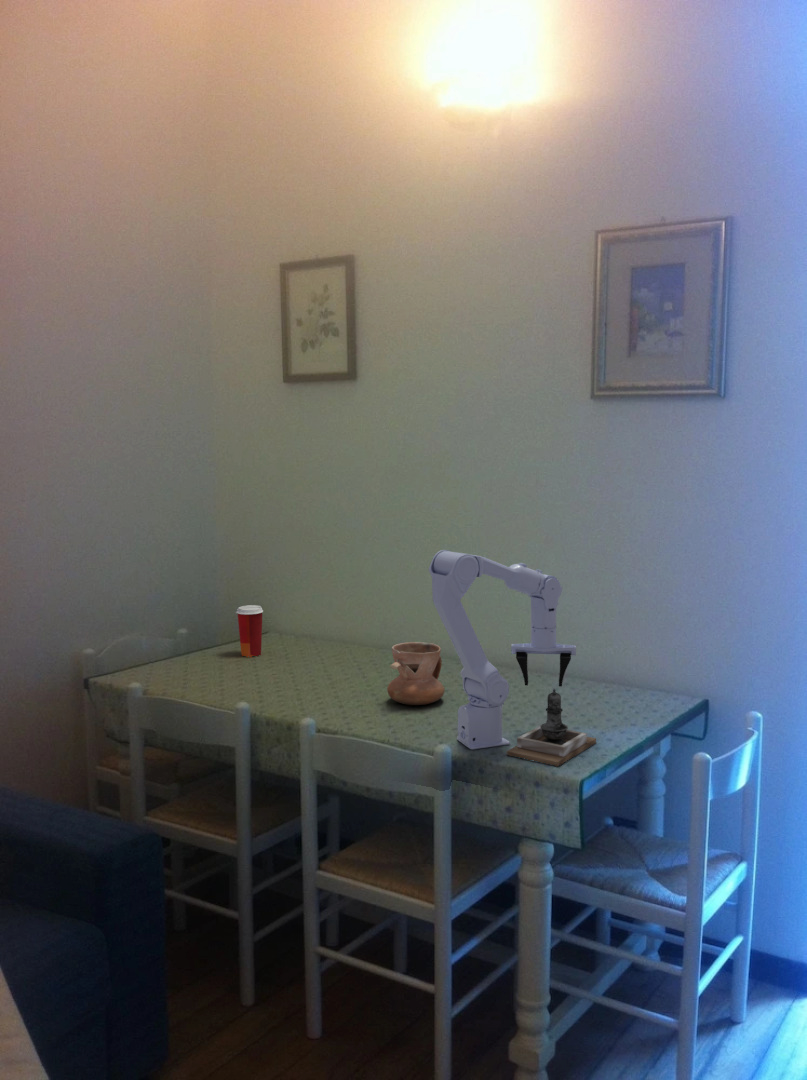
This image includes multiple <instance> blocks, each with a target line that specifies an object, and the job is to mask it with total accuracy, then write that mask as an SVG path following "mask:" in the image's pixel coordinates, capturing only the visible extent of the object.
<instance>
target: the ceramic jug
mask: <svg viewBox="0 0 807 1080" xmlns="http://www.w3.org/2000/svg"><path fill="white" fill-rule="evenodd" d="M441 648H442V647H440V646H439V645H438V644H435V643H431V642H423V641H409V642H402V643H397V644H394V645H393V646H392V647H391V652H392V658H393V661H394V662H393V663H392V664H390V666H389V667H390V668H391V669H392V670H397V671H398V673H399V675H398V676H396V677H395V678H394V679H393V680H391V681H389V683H388V686H387V690H386V691H387V693H388V696H389V698H391V700H393V701H395V702H397V703H399V704H403V705H408V706H423V705H424V706H426V705H429V704H433V703H435V702H437V701H439V700H440V699H441V698H443V696H444V693H445V687H444V685H443V683H442V682H441V681H439V680H438V679H439V677H440V674H441V670H442V661H443V660H442V657H441V651H442V650H441Z"/></svg>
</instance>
